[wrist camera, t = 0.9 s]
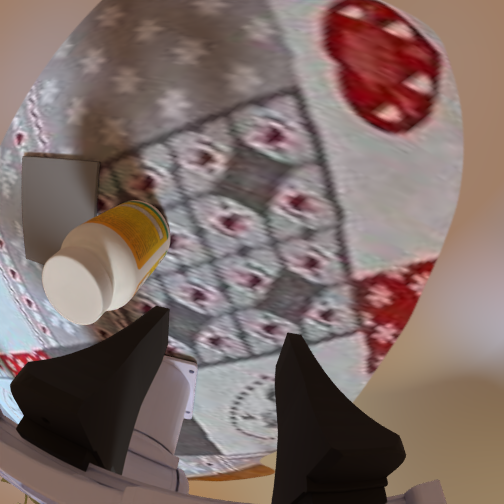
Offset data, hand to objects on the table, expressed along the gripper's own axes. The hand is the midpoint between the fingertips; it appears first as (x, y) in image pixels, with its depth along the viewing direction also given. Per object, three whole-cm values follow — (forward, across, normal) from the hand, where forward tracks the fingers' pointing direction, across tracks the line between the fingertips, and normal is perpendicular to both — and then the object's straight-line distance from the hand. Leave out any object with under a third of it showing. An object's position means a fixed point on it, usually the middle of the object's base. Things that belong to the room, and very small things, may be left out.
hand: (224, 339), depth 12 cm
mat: (+10, +16, 0) cm, 19 cm away
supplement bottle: (+10, +8, 0) cm, 13 cm away
